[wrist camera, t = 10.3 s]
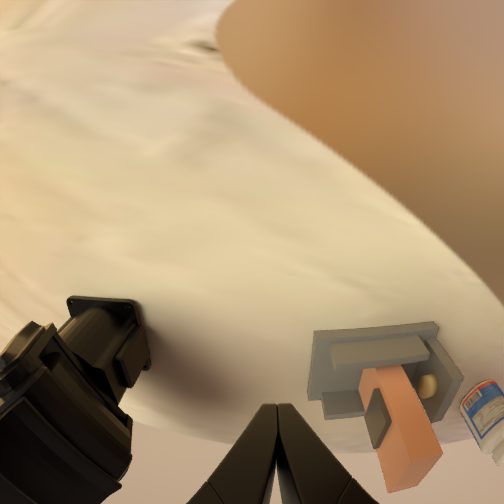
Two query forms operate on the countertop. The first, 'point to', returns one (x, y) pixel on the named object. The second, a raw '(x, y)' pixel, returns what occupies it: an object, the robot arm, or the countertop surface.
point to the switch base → (380, 355)
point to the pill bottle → (486, 418)
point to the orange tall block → (398, 427)
